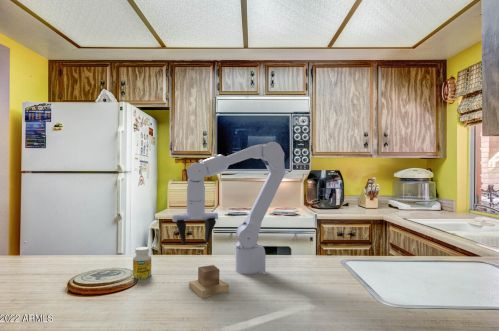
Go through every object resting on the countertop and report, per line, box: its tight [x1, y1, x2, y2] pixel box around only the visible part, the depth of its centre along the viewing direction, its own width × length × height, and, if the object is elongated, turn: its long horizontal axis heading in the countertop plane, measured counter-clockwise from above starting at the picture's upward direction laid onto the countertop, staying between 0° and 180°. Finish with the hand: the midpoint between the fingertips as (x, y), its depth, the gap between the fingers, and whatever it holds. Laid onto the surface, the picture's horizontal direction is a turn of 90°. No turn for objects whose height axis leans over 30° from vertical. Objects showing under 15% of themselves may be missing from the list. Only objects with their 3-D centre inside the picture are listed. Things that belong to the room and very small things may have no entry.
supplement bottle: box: [132, 246, 152, 280], centre depth 95 cm, size 5×5×10 cm
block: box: [197, 264, 220, 287], centre depth 85 cm, size 4×4×4 cm
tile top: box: [188, 278, 230, 299], centre depth 85 cm, size 8×8×2 cm
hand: (195, 242), depth 100 cm, fingers open, 7 cm apart
